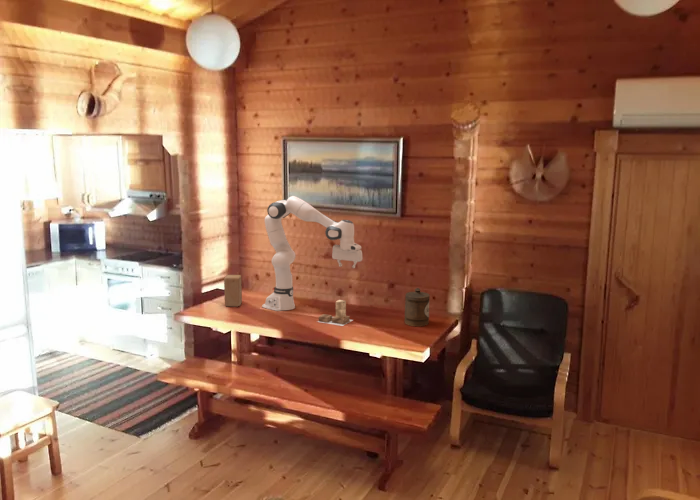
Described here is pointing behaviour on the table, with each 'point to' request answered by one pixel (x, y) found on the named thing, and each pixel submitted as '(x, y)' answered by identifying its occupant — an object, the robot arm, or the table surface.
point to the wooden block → (233, 290)
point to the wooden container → (417, 308)
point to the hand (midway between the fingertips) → (347, 267)
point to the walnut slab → (340, 320)
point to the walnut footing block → (325, 318)
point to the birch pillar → (340, 308)
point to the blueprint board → (335, 323)
